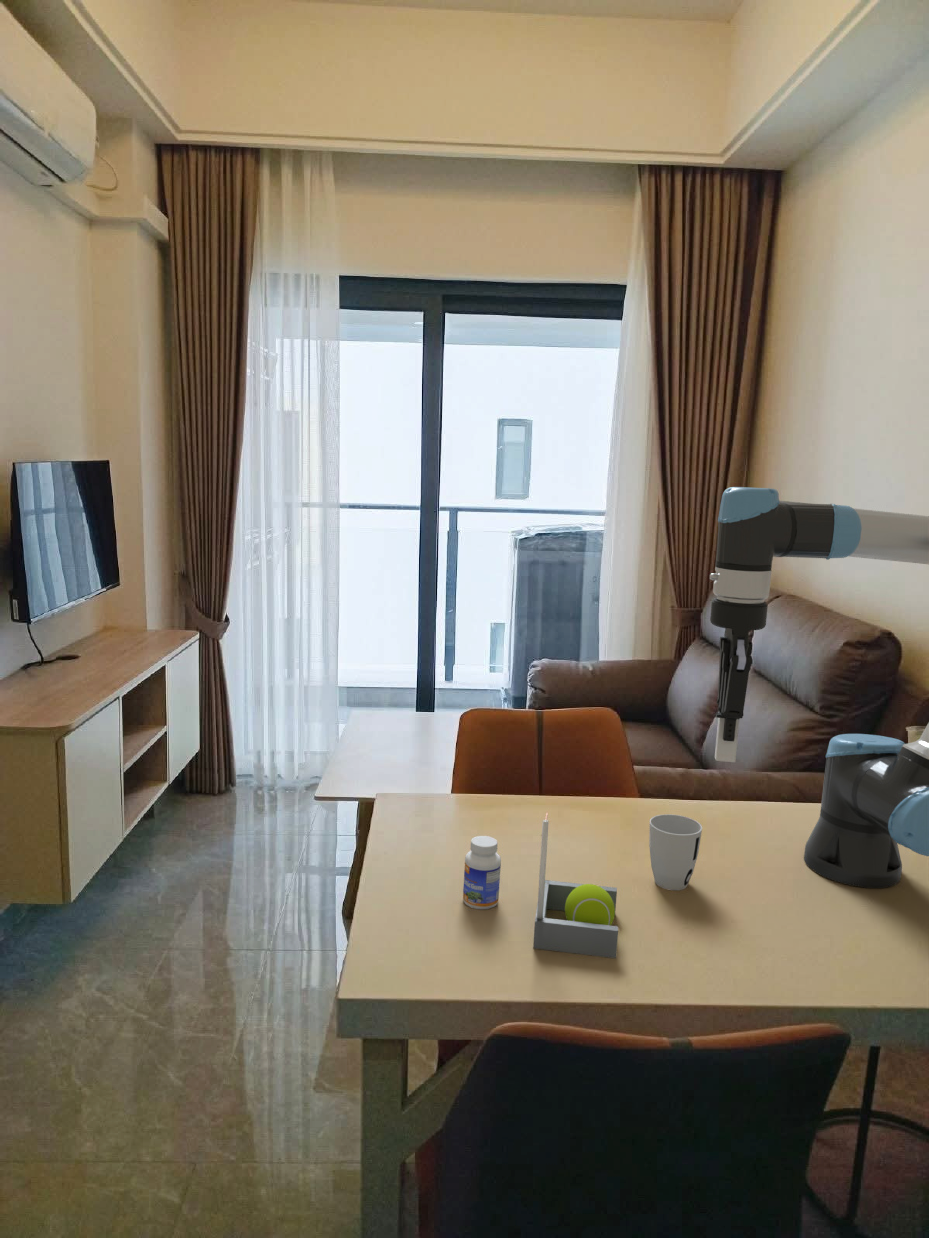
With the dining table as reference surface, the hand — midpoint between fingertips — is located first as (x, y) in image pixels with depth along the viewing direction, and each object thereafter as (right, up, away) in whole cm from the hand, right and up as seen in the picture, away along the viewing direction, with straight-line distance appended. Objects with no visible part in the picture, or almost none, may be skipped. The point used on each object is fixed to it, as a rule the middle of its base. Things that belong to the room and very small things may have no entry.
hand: (724, 759), depth 126 cm
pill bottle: (-35, -22, +6) cm, 42 cm away
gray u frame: (-21, -24, -2) cm, 32 cm away
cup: (-5, -22, +14) cm, 27 cm away
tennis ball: (-20, -24, -2) cm, 32 cm away
